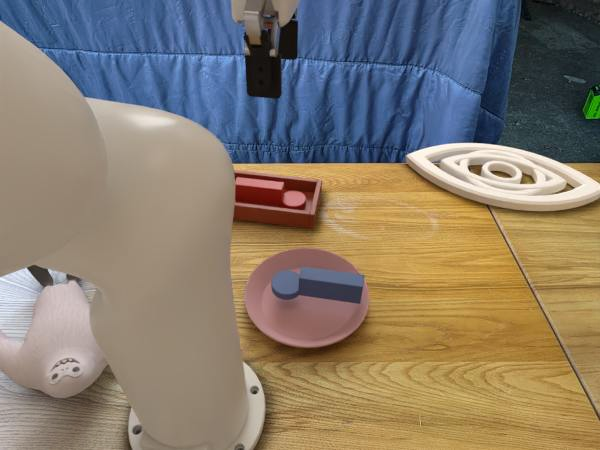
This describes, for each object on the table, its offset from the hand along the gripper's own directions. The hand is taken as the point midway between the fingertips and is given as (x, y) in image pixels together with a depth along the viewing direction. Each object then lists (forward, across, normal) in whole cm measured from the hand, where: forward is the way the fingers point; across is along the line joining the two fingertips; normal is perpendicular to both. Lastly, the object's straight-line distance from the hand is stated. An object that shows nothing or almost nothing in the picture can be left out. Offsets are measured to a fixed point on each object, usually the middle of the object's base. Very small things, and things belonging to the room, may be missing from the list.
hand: (274, 75), depth 46 cm
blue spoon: (+21, +10, +6) cm, 24 cm away
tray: (+22, -7, -2) cm, 23 cm away
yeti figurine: (+20, +11, -26) cm, 35 cm away
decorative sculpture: (+20, -20, +17) cm, 33 cm away
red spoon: (+22, -7, -2) cm, 23 cm away
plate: (+23, +10, +5) cm, 26 cm away
